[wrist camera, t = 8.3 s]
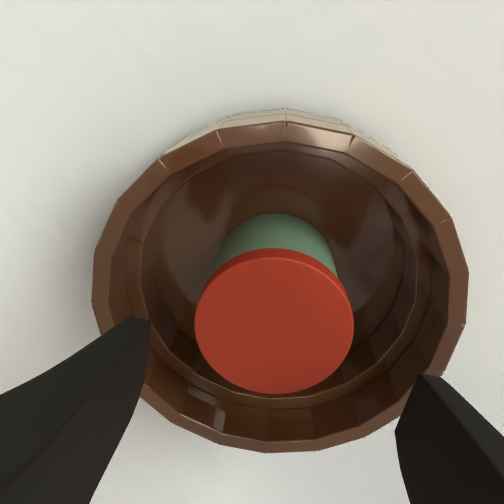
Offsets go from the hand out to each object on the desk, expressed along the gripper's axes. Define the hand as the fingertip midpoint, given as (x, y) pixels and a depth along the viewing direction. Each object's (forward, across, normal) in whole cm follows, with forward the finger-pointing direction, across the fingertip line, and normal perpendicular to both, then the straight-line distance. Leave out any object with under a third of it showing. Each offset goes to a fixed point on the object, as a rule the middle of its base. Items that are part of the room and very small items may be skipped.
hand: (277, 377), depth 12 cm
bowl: (+7, 0, 0) cm, 7 cm away
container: (+7, 0, 0) cm, 7 cm away
